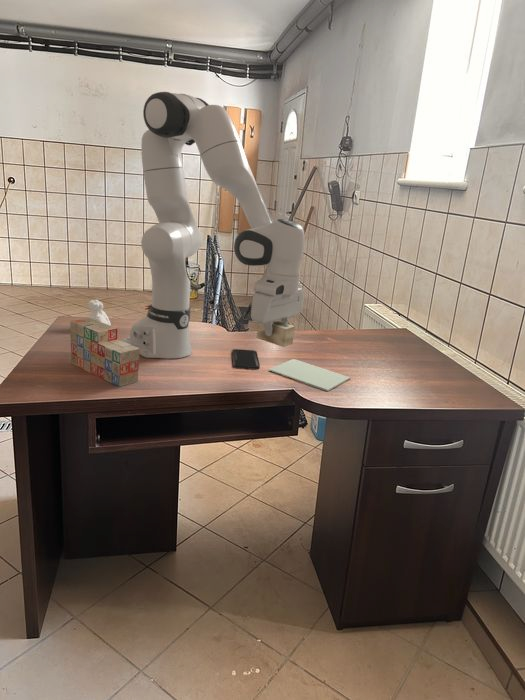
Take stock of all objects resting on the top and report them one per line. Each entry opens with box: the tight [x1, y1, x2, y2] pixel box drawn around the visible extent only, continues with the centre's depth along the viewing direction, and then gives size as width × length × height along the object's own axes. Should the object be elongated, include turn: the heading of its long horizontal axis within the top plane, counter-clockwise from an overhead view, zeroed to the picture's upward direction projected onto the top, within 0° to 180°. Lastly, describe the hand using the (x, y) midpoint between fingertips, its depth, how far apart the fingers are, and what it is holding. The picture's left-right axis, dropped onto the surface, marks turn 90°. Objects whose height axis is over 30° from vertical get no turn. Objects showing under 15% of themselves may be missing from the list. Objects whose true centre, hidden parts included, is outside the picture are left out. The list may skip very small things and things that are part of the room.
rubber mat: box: [267, 358, 351, 392], centre depth 152 cm, size 20×14×1 cm
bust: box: [86, 299, 112, 326], centre depth 170 cm, size 12×8×11 cm
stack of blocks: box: [69, 317, 140, 388], centre depth 136 cm, size 21×6×12 cm, turn 52°
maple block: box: [255, 320, 296, 348], centre depth 140 cm, size 9×4×5 cm, turn 55°
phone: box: [231, 348, 261, 370], centre depth 158 cm, size 8×1×15 cm
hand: (275, 333), depth 140 cm, fingers closed on maple block, 4 cm apart
